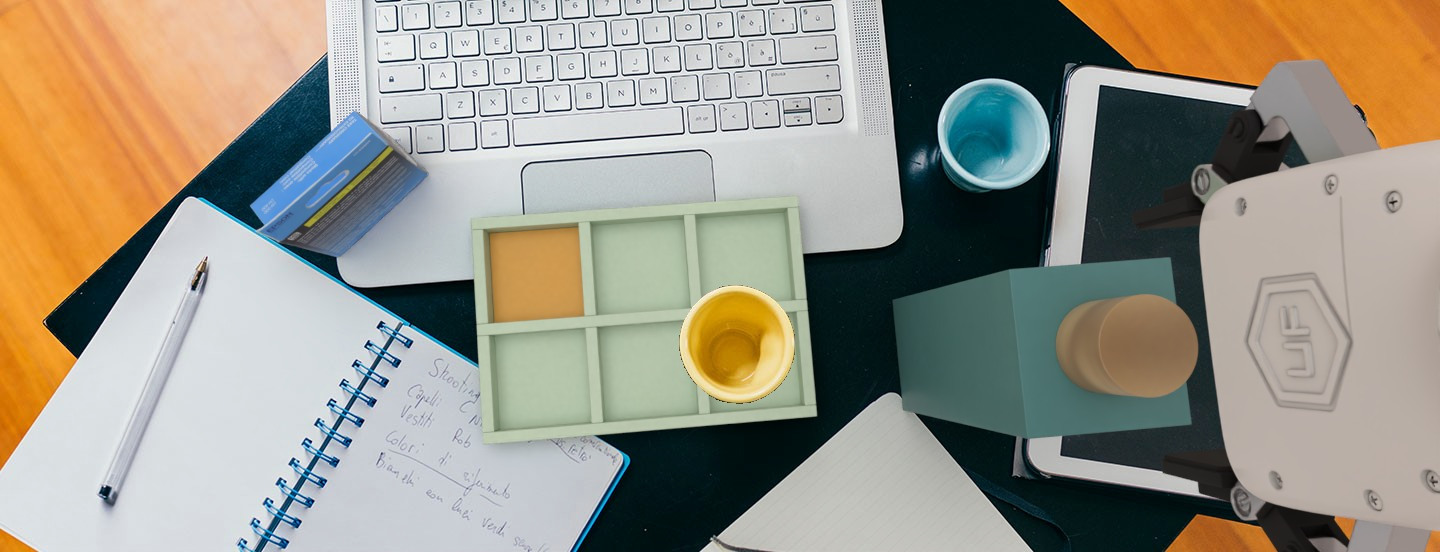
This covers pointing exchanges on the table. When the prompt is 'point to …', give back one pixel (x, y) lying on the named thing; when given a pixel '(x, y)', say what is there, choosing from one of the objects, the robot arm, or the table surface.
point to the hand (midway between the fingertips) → (1181, 338)
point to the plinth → (1022, 351)
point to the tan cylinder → (1128, 346)
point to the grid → (625, 315)
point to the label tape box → (338, 189)
